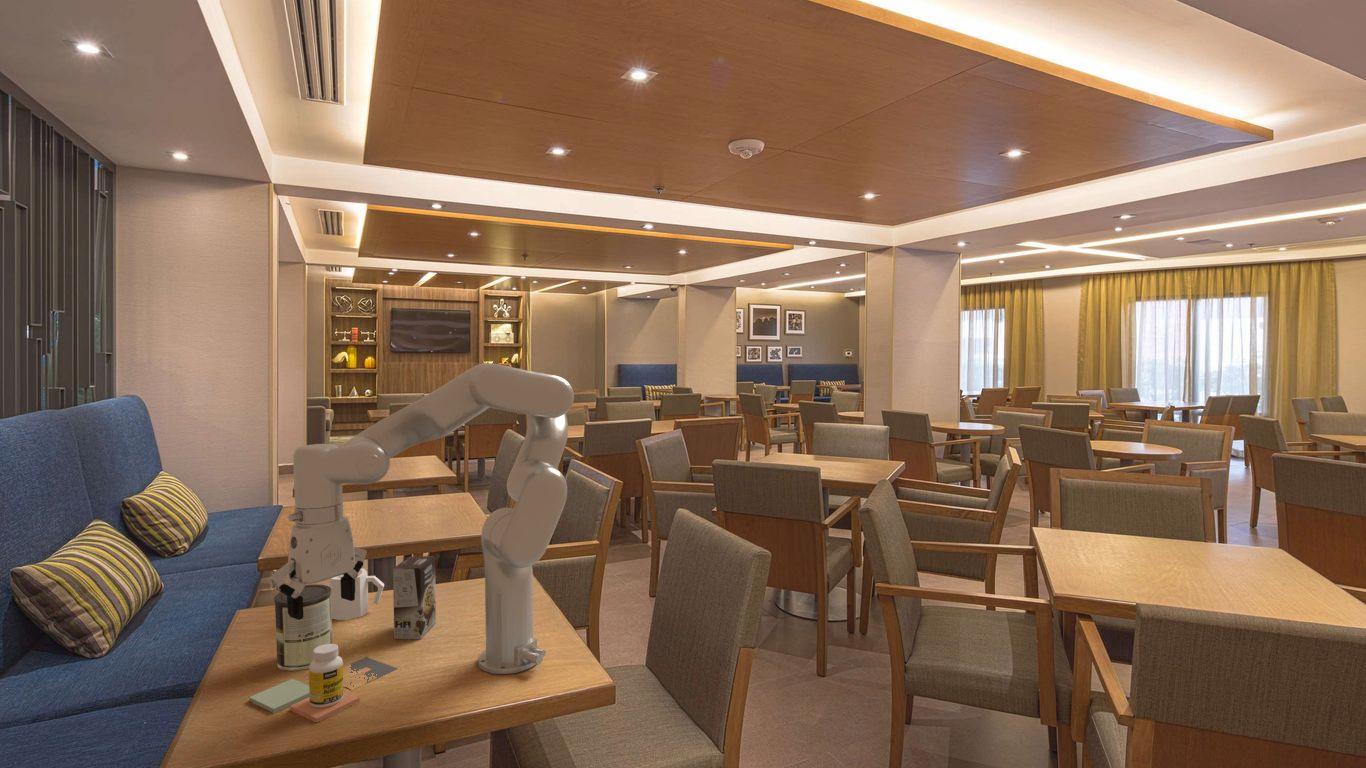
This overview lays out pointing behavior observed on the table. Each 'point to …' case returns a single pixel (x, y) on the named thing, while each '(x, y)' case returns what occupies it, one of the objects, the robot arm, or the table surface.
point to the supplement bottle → (325, 676)
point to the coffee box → (414, 597)
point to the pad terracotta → (321, 713)
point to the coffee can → (303, 627)
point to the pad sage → (281, 696)
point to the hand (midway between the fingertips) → (323, 608)
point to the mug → (359, 606)
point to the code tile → (371, 668)
